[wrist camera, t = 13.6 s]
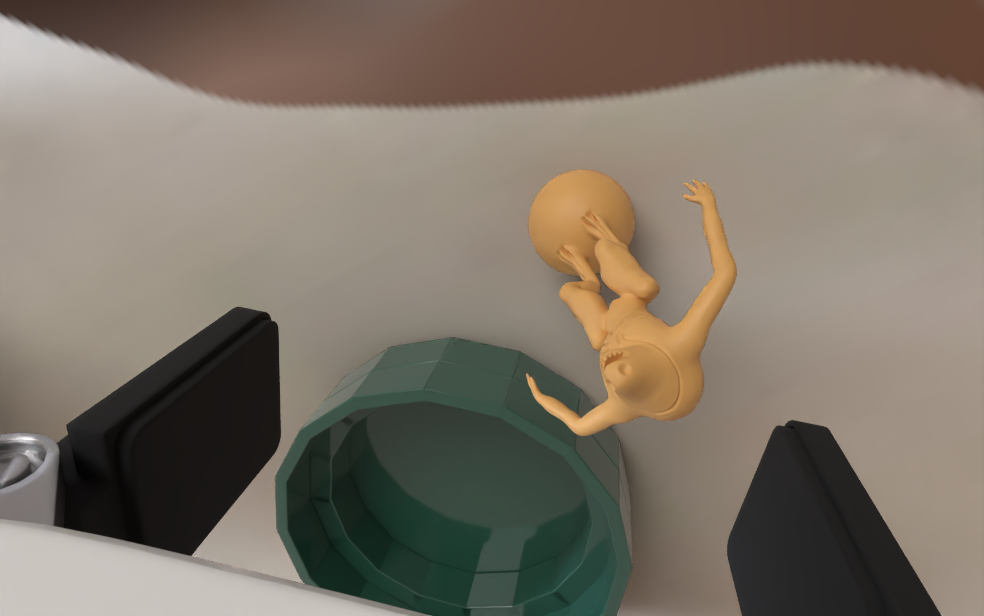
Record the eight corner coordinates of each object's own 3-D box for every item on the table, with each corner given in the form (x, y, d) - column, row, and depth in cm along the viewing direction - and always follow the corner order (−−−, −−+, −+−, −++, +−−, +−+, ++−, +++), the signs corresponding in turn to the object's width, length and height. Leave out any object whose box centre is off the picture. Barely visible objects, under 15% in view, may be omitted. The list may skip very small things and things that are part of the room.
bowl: (321, 548, 35) (278, 621, 30) (325, 305, 28) (270, 353, 24) (590, 618, 33) (586, 708, 29) (663, 377, 26) (673, 444, 22)
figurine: (606, 92, 22) (600, 132, 11) (733, 184, 22) (844, 308, 12) (489, 260, 26) (398, 412, 15) (600, 336, 26) (591, 539, 15)
